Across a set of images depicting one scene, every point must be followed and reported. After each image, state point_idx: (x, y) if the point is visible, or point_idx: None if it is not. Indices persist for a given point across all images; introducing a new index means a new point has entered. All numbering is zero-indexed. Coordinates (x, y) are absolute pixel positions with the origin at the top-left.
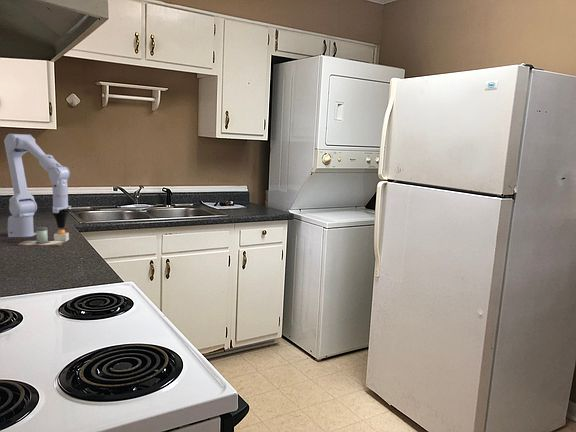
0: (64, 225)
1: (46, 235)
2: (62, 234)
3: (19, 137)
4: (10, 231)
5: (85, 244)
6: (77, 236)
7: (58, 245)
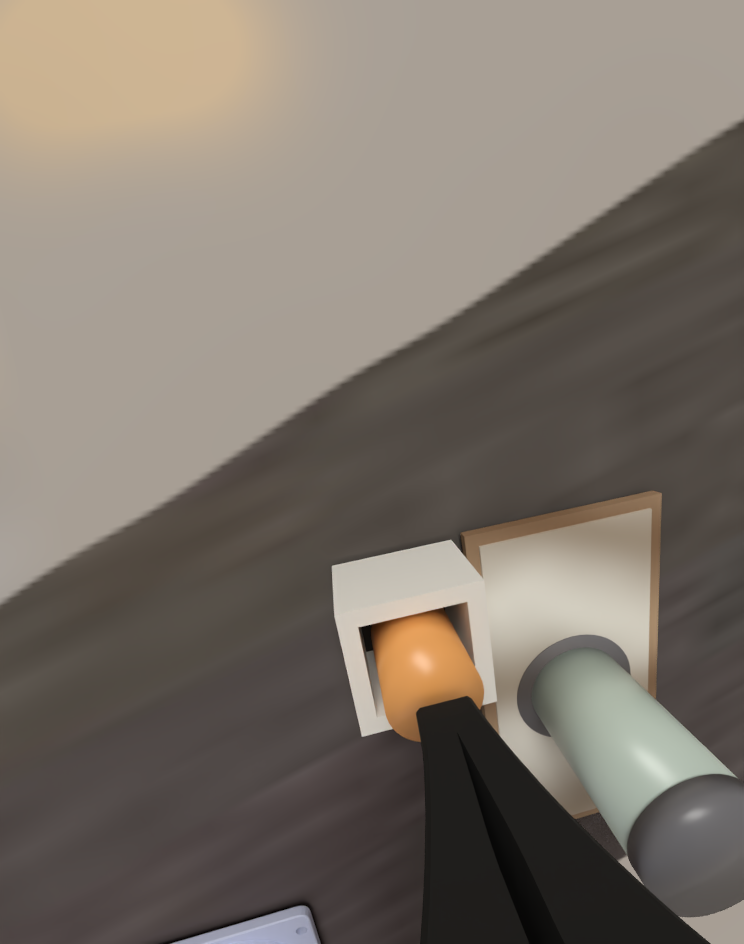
0: (451, 729)
1: (650, 708)
2: (477, 619)
3: None
4: None
5: (536, 271)
6: (97, 577)
7: (656, 506)
